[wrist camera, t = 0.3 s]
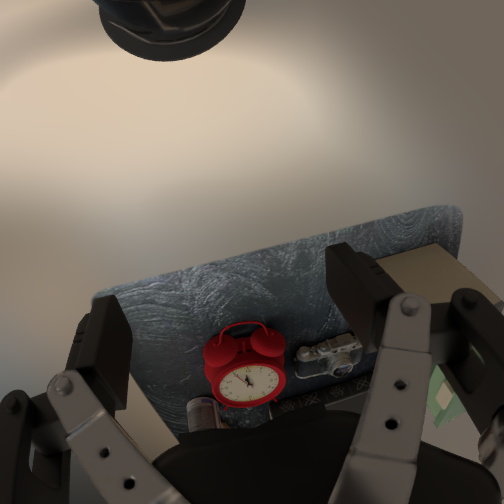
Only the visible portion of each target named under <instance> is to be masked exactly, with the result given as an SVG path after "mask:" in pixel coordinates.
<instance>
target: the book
mask: <svg viewBox="0 0 504 504" xmlns="http://www.w3.org/2000/svg"><path fill="white" fill-rule="evenodd" d="M372 375H373V372H371V373H368V374H366V375H363V376H360V377H357V378H354V379H351V380H348V381H345V382H342V383H339V384H336V385H333V386H330V387H326V388H323V389H320V390H316V391H313V392H310V393H306V394H303V395H299V396H295V397H292V398H288V399H284V400H280V401H276V402H272V403H269V404H268V407H269V413H270V419H271V420H272V419H274V418H276V417H278V416H280V415H282V414H284V413H285V412H287V411H291V410H294V409H298V408H301V407H305V406H308V405H311V404H315V403H318V402H321V401H323V403H324V405H325V407H326V410H346V411H352V412H356V413H360V414H361V413H362V410H363V407H364V404H365V400H366V397H367V393H368V390H369V386H370V382H371V379H372Z"/></svg>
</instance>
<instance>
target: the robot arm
mask: <svg viewBox="0 0 504 504" xmlns="http://www.w3.org/2000/svg"><path fill="white" fill-rule="evenodd" d="M93 1H94V2H95V3H96V4H97V5H99V6H100V7H101V8H102V9H103V10H104V11H106V12H107V13H108V14H109V15H110V16H111V17H113V18H114V19H115V20H116V21H117V22H118V23H119V24H120V26H121V27H120V26H118V25H116V24H114V23H112V22H111V23H112V24H114V25H116V26H118V27H120V28H122V29H124V30H125V31H126V32H127V33H129V34H130V35H131V36H133V37H134V38H136V39H138V40H140V41H143V42H146V43H149V44H155V45H176V44H181V43H185V42H188V41H191V40H194V39H196V38H198V37H200V36H202V35H203V34H205V33H207V32H208V31H209V30H211V29H212V28H213V27H214V26H215V25H216V24H217V23H218V22H219V21H220V20H221V18H222V17H223V15H224V14H225V12H226V10H227V8H228V6H229V4H230V2H231V0H93ZM109 22H110V21H109ZM325 259H326V284H327V289H328V292H329V294H330V296H331V298H332V299H333V301H334V302H335V304H336V306H337V307H338V309H339V310H340V312H341V313H342V315H343V316H344V318H345V320H346V321H347V323H348V324H349V326H350V328H351V329H352V331H353V332H354V334H355V335H356V337H357V339H358V340H359V342H360V343H361V345H362V347H363V348H364V350H365V352H366V353H367V354H369V353H372V352H375V351H378V355H377V359H376V363H375V367H374V371H373V375H372V379H371V382H370V386H369V390H368V393H367V397H366V400H365V404H364V407H363V410H362V413H361V414H360V413H356V412H352V411H346V410H326V407H325V405H324V403H323V401H321V402H318V403H315V404H311V405H308V406H305V407H301V408H298V409H294V410H291V411H287V412H285V413H284V414H282V415H280V416H278V417H276V418H274V419H272V420H270V421H268V422H266V423H264V424H262V425H259V426H257V427H255V428H251V429H225V428H212V429H206V430H200V431H194V432H188V433H181V434H179V442H180V444H178V445H176V446H174V447H172V448H170V449H168V450H167V451H165V452H164V453H162V454H161V455H160V456H158V457H157V458H156V459H155V460H154V461H152V460H151V459H150V458H149V457H148V456H147V455H146V454H145V453H144V452H143V451H142V450H141V449H140V447H139V446H138V445H137V444H136V443H135V442H134V441H133V439H132V438H131V437H130V436H129V435H128V434H127V432H126V431H125V430H124V429H123V428H122V426H121V425H120V424H119V423H118V422H117V420H116V419H115V411H116V410H125V409H126V404H127V392H128V391H127V390H128V380H129V370H130V360H131V351H132V342H133V337H132V331H131V328H130V325H129V323H128V321H127V319H126V317H125V315H124V313H123V311H122V308H121V306H120V304H119V302H118V300H117V298H116V296H115V295H109V296H105V297H100V298H96V299H95V300H94V302H93V305H92V309H91V312H90V313H88V314H86V315H85V316H84V317H83V319H82V320H81V321H80V323H79V324H78V327H77V331H76V335H75V337H74V340H73V344H72V347H71V350H70V353H69V357H68V360H67V364H66V368H65V371H62V372H60V373H58V374H57V375H55V376H54V377H53V378H52V380H51V381H50V382H49V384H48V386H47V392H45V393H42V394H40V395H38V396H35V397H32V398H30V397H29V396H28V395H27V394H26V393H25V392H24V391H22V390H14V391H11V392H10V393H8V394H7V395H6V396H5V397H4V398H3V399H2V401H1V403H0V504H69V482H70V457H71V450H72V451H73V453H74V455H75V456H76V458H77V459H78V461H79V463H80V464H81V466H82V467H83V469H84V470H85V472H86V473H87V475H88V476H89V478H90V479H91V481H92V482H93V484H94V485H95V486H96V488H97V489H98V491H99V492H100V494H101V495H102V496H103V498H104V499H105V500H106V502H107V503H108V504H502V503H501V502H502V500H503V499H504V316H503V315H502V314H501V312H500V311H499V310H498V309H497V308H496V307H495V306H494V305H493V304H492V303H491V302H490V301H489V300H488V299H487V298H486V297H485V296H484V295H483V294H482V293H481V292H479V291H477V290H475V289H472V288H460V289H457V290H456V291H454V292H453V294H452V297H451V300H450V302H444V303H432V304H430V303H429V301H428V300H427V299H426V298H424V297H423V296H421V295H419V294H416V293H410V292H404V290H403V289H402V288H401V287H400V286H399V285H398V284H397V283H396V282H395V281H394V280H393V279H392V278H391V276H390V275H389V274H388V273H387V272H385V270H384V269H383V268H382V267H381V266H379V264H378V263H377V262H376V261H375V260H374V259H373V258H372V257H371V256H369V255H367V254H365V253H363V252H357V253H356V252H355V251H354V250H353V249H352V248H351V247H350V246H349V245H348V244H347V243H346V242H343V243H339V244H335V245H331V246H327V247H326V250H325ZM473 346H474V348H475V349H476V350H477V351H478V353H479V354H480V355H481V357H482V358H483V361H484V363H483V362H482V361H481V359H480V358H479V357H478V355H477V354H476V353H475V351H474V350H473V349H472V347H473ZM434 364H437V365H438V367H439V368H440V370H441V371H442V373H443V374H444V376H445V377H446V379H447V380H448V382H449V384H450V385H451V387H452V388H453V390H454V391H455V393H456V395H457V396H458V398H459V399H460V401H461V403H462V404H463V406H464V408H465V409H466V411H467V412H468V414H469V416H470V418H471V419H472V421H473V423H474V424H475V426H476V428H477V429H478V431H479V433H480V435H481V436H480V438H479V442H478V451H479V460H480V462H481V464H479V463H477V462H474V461H471V460H469V459H466V458H464V457H461V456H458V455H456V454H453V453H450V452H448V451H445V450H443V449H440V448H438V447H435V446H433V445H431V444H428V443H426V442H423V441H421V435H422V430H423V423H424V418H425V412H426V405H427V398H428V390H429V382H430V372H431V365H434ZM31 446H32V447H33V448H35V451H34V459H33V468H32V472H31V470H30V467H29V454H30V447H31Z"/></svg>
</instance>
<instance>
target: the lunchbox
mask: <svg viewBox="0 0 504 504" xmlns="http://www.w3.org/2000/svg"><path fill="white" fill-rule="evenodd" d="M472 349H473V350H474V351H475V353H476V354H477V355H478V357H479V358H480V359H481V361H482V362H483V363H484V361H483V358H482V357H481V355H480V354H479V353H478V351H477V350H476V349H475V348H474V346H473V347H472ZM427 406H428V407H429V409H430V411H431V412H432V414H433V416H434V417H435V421H434V424H435V426H436V428H438V427H440V426H442V425H443V424H445V423H447V422H449V421H450V420H452V419H454V418H456V417H457V416H459V415H461V414H462V413H464V412H466V409H465V408H464V406H463V404H462V403H461V401H460V399H459V398H458V396H457V395H456V393H455V391H454V390H453V388H452V387H451V385H450V384H449V382H448V380H447V379H446V377H445V376H444V374H443V373H442V371H441V370H440V368H439V367H438V365H437V364H436V367H435V369H434V371H433V374H432V376H431V379H430V382H429V390H428V398H427Z"/></svg>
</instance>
